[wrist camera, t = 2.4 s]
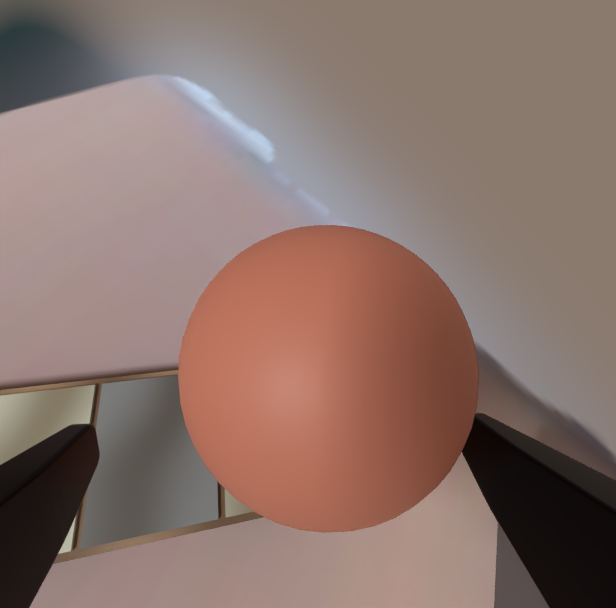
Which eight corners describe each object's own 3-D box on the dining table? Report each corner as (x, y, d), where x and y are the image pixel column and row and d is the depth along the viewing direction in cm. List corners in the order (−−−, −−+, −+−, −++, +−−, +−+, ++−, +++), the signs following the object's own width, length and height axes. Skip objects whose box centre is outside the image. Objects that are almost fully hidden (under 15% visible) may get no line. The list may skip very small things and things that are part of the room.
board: (323, 358, 18) (328, 352, 17) (349, 494, 15) (356, 497, 14) (-182, 417, 13) (-220, 414, 12) (-295, 635, 10) (-357, 655, 9)
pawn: (279, 510, 13) (509, 1075, 1) (205, 432, 14) (-89, 299, 2) (344, 423, 15) (663, 304, 3) (276, 359, 16) (329, 87, 4)
